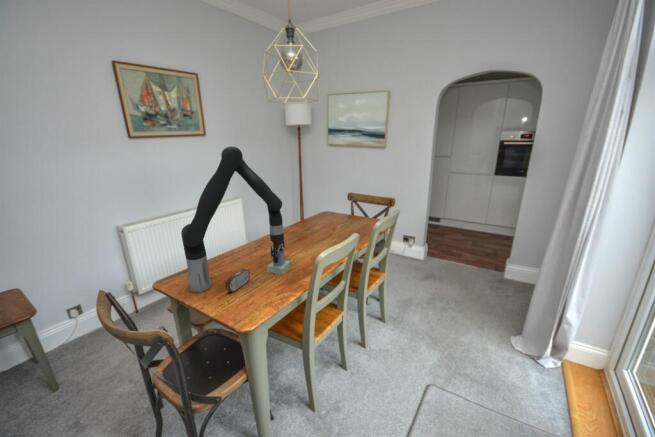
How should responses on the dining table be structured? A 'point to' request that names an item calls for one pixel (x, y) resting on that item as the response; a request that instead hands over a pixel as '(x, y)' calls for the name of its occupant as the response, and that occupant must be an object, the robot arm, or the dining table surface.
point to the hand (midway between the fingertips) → (278, 259)
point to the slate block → (280, 259)
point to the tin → (237, 280)
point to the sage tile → (279, 268)
